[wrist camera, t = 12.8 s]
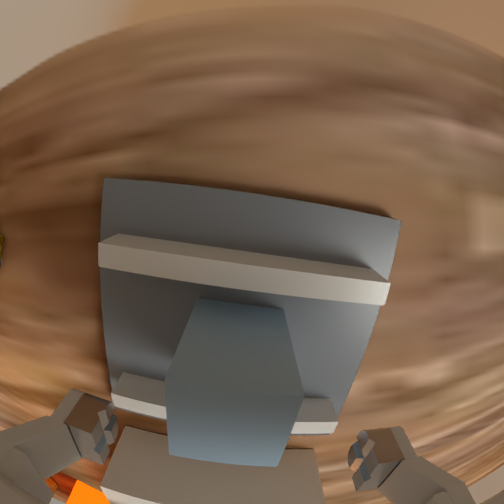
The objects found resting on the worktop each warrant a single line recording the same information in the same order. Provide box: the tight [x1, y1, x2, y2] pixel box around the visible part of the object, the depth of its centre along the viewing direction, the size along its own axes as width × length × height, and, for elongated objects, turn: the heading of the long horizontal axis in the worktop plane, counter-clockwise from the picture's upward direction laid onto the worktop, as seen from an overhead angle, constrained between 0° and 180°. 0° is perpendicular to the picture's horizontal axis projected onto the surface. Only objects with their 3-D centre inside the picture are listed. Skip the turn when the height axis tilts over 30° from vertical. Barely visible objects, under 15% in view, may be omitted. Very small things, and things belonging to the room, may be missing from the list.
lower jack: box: [98, 178, 402, 435], centre depth 13 cm, size 14×14×3 cm
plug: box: [165, 298, 305, 467], centre depth 11 cm, size 4×4×6 cm
